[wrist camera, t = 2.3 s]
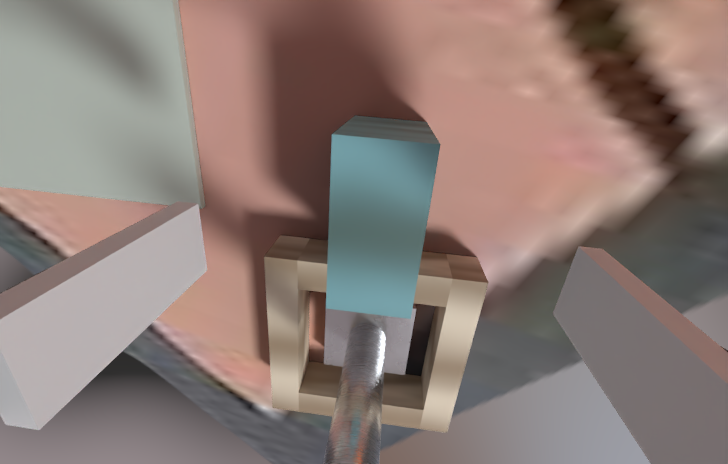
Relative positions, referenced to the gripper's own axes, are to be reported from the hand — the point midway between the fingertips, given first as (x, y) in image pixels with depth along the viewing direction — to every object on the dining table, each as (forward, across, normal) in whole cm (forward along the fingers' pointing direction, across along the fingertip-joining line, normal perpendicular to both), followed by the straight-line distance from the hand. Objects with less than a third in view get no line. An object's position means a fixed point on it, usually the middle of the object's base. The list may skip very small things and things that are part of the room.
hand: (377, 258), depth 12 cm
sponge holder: (+9, 0, -7) cm, 11 cm away
